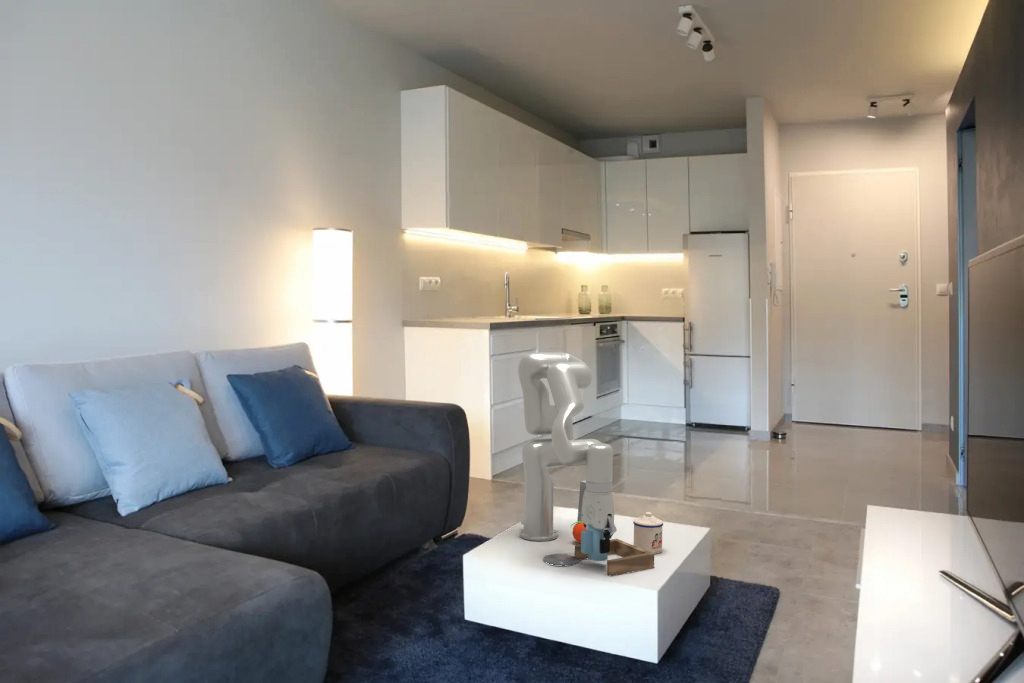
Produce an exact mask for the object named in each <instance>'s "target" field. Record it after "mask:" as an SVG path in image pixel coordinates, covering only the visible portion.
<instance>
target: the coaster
mask: <svg viewBox="0 0 1024 683" xmlns="http://www.w3.org/2000/svg"><path fill="white" fill-rule="evenodd" d="M544 561H545V562H547V563H549V564H553V565H562V566H561V567H566V566H565V565H572V566H574V565H573V564H575V565H577V564H578V562H579V560H578V558H576V557H575V555H572V554H566V553H552V554H548V555H545V556H543V562H544ZM545 562H544V563H545ZM547 563H546V564H547ZM576 563H577V564H576ZM549 564H548V565H549ZM553 565H552V566H553Z"/></svg>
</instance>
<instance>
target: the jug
mask: <svg viewBox="0 0 1024 683" xmlns="http://www.w3.org/2000/svg"><path fill="white" fill-rule="evenodd" d="M605 528H607V525H606V526H605ZM606 532H607V531H606V530H604V533H606ZM600 539H602V538H601V533H600V530H598V529H595V528H594V527H593V525H591V524H589V523H588V530H585V531H581V543H580V545H581V552H582V553H584V554H588V559H587V560H590V561H594V562H604V561H607V560H609V558H608V556H609V555H608V553H603V554H601V553H600Z"/></svg>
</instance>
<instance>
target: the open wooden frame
mask: <svg viewBox="0 0 1024 683" xmlns="http://www.w3.org/2000/svg"><path fill="white" fill-rule="evenodd" d="M611 555H617V556H619V557H617V558H611V559H607V560H606V575H607V574H608V575H607V576H609V575H614V576H617V575H616V574H619V575H622V574H621V573H625V574H628V573H627V572H630V573H633V572H632V571H635V572H639V571H638V570H640V571H644V569H645V570H650V569H655V554H654V553H651V552H649V551H646V550H644V549H641V548H639V547H636V546H634V544H631V543H629V542H626V541H623V540H622V539H619V538H611V539H610V552H609V553H608V556H611ZM574 556H575V557H576V558H578V561H581V560H582V559H583V560H588V559H587V558H588V554H584V553H582V552H581V544H576V545H574ZM583 560H582V561H583Z"/></svg>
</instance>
